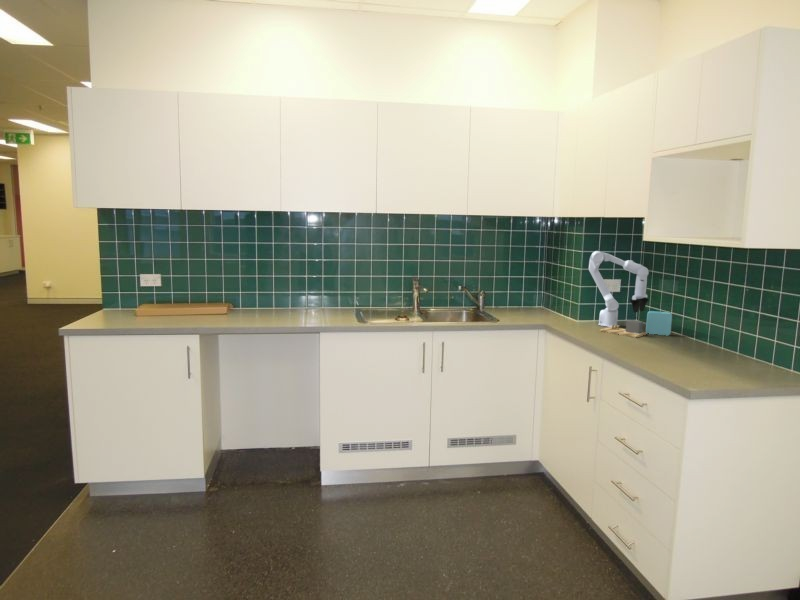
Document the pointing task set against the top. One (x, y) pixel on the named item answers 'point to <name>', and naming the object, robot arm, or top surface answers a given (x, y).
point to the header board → (621, 331)
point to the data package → (659, 323)
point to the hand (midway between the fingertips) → (638, 311)
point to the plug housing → (634, 326)
